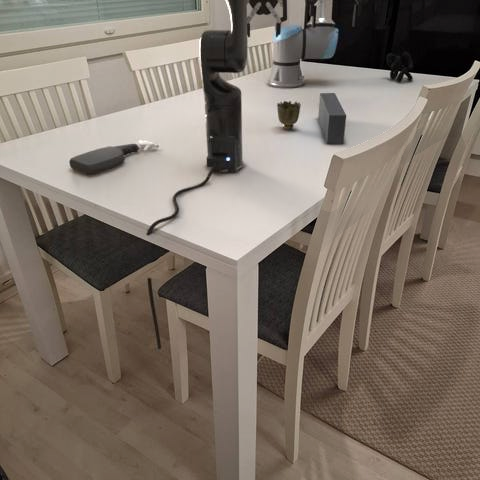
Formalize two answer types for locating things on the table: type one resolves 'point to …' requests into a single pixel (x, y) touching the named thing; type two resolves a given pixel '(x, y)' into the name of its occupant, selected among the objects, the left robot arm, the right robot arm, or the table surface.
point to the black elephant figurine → (399, 66)
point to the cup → (288, 114)
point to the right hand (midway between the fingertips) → (333, 27)
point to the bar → (331, 118)
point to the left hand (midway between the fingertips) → (263, 36)
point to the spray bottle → (106, 157)
